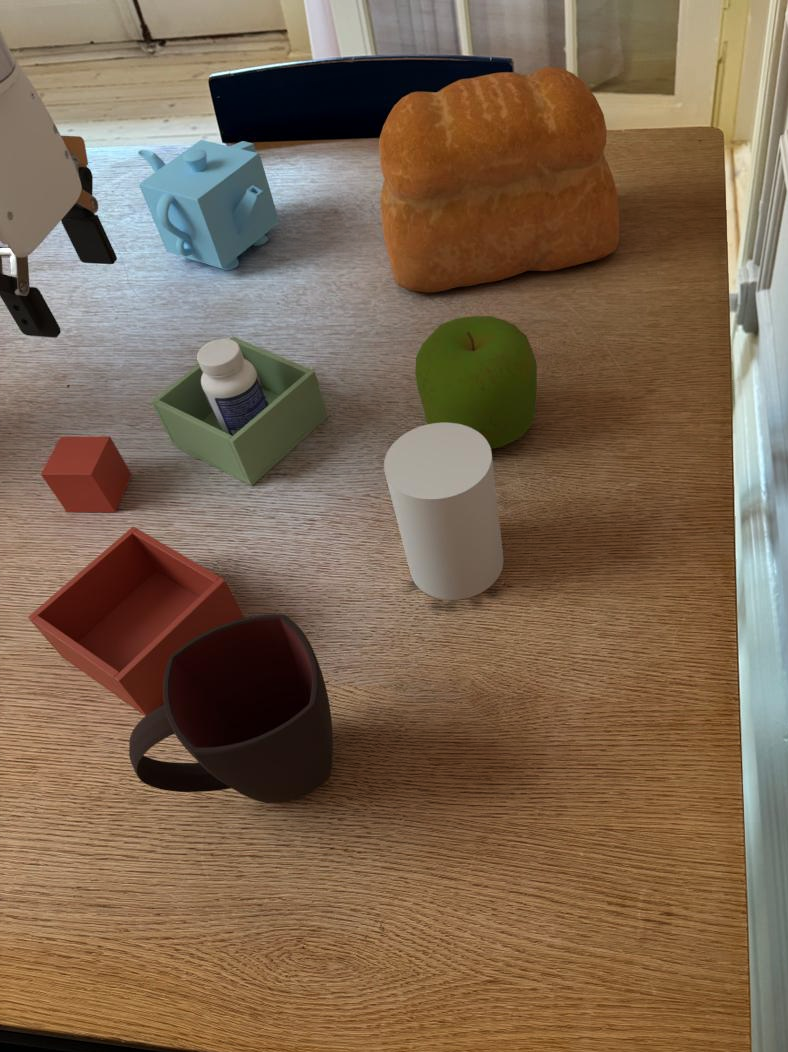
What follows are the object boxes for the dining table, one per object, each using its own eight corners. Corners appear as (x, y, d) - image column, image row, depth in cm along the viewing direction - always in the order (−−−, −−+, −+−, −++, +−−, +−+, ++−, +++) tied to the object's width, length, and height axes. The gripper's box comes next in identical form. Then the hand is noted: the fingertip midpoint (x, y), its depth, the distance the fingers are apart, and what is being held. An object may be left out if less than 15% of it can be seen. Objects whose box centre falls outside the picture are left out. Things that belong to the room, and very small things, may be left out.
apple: (464, 484, 81) (449, 389, 72) (405, 423, 87) (384, 328, 78) (562, 431, 84) (559, 333, 75) (498, 375, 89) (489, 278, 81)
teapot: (238, 298, 102) (204, 202, 92) (129, 263, 108) (86, 170, 99) (321, 227, 109) (296, 132, 100) (213, 198, 115) (181, 106, 106)
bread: (628, 263, 98) (636, 97, 84) (398, 307, 98) (366, 148, 84) (593, 192, 107) (595, 32, 93) (382, 232, 107) (352, 77, 93)
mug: (373, 794, 64) (335, 711, 54) (188, 871, 62) (114, 799, 52) (334, 689, 69) (293, 596, 60) (163, 756, 67) (92, 671, 58)
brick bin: (61, 656, 74) (27, 617, 69) (159, 568, 79) (133, 525, 74) (149, 719, 70) (118, 681, 65) (247, 621, 74) (225, 579, 70)
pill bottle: (285, 419, 88) (258, 344, 80) (249, 451, 85) (219, 377, 78) (246, 402, 90) (217, 327, 83) (211, 434, 88) (177, 359, 80)
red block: (66, 512, 84) (40, 474, 80) (84, 474, 87) (60, 436, 83) (115, 512, 83) (91, 474, 79) (132, 474, 86) (110, 436, 82)
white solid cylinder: (518, 541, 76) (509, 436, 67) (479, 611, 72) (463, 510, 63) (435, 517, 79) (414, 413, 69) (393, 584, 75) (364, 483, 65)
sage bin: (172, 445, 88) (150, 401, 83) (250, 381, 93) (233, 336, 88) (251, 486, 84) (232, 442, 79) (329, 416, 88) (315, 371, 84)
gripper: (-29, 6, 63) (81, 234, 77) (-181, 127, 53) (-25, 362, 67) (64, 5, 61) (159, 238, 75) (-76, 129, 52) (62, 369, 66)
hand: (72, 296), depth 71 cm, fingers open, 9 cm apart
